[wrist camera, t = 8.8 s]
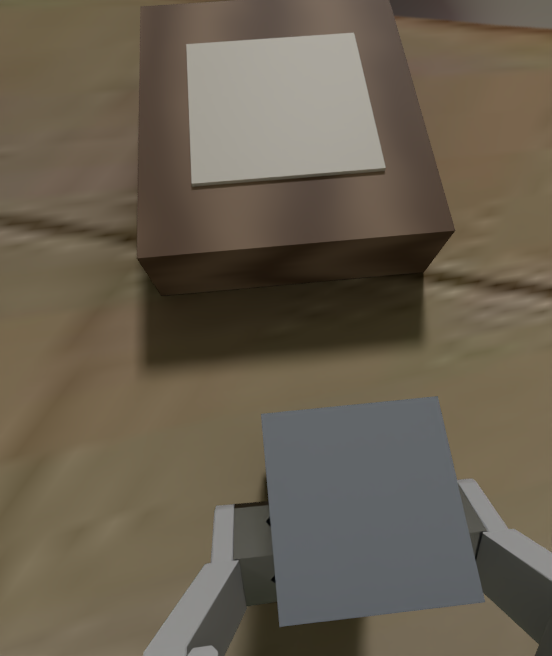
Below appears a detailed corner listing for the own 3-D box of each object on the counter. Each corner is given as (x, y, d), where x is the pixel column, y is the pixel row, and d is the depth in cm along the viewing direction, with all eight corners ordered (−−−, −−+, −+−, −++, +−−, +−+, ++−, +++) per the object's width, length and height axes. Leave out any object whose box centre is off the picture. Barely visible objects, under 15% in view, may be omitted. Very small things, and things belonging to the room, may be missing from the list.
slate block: (276, 543, 16) (279, 626, 8) (266, 440, 17) (261, 414, 9) (374, 532, 16) (484, 602, 8) (358, 431, 18) (437, 396, 9)
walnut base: (161, 295, 21) (135, 255, 17) (159, 72, 26) (139, 2, 22) (423, 272, 22) (457, 227, 18) (370, 57, 27) (387, -14, 23)
